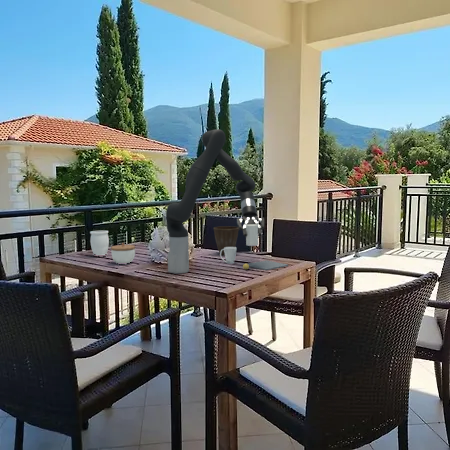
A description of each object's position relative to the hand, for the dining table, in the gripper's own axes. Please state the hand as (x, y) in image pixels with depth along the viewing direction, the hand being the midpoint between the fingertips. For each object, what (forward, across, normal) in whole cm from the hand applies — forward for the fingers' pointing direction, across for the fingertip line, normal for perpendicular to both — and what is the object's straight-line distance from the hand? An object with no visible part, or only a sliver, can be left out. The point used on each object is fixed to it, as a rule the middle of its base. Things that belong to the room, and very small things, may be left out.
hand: (252, 235), depth 207 cm
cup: (-1, -11, +25) cm, 27 cm away
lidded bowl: (-6, -66, +29) cm, 73 cm away
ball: (+12, -4, +11) cm, 17 cm away
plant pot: (-18, -9, +43) cm, 48 cm away
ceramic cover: (+2, 0, +5) cm, 5 cm away
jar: (-22, -84, +45) cm, 98 cm away
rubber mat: (+7, +8, +17) cm, 20 cm away
